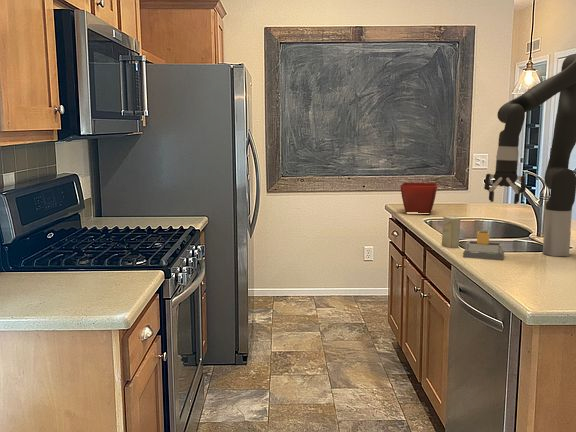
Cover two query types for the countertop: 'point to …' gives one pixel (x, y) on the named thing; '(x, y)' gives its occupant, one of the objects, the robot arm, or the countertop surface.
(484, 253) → the grey tray
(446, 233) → the skincare box
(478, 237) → the toggle
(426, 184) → the plant pot
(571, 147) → the robot arm
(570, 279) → the countertop surface
